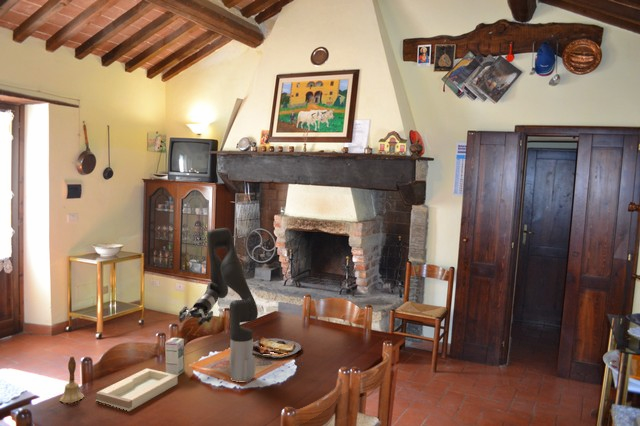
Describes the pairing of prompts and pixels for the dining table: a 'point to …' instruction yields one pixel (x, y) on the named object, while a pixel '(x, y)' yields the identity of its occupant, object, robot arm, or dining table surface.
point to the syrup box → (174, 356)
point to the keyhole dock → (136, 389)
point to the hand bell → (71, 385)
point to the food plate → (275, 347)
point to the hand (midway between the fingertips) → (189, 322)
